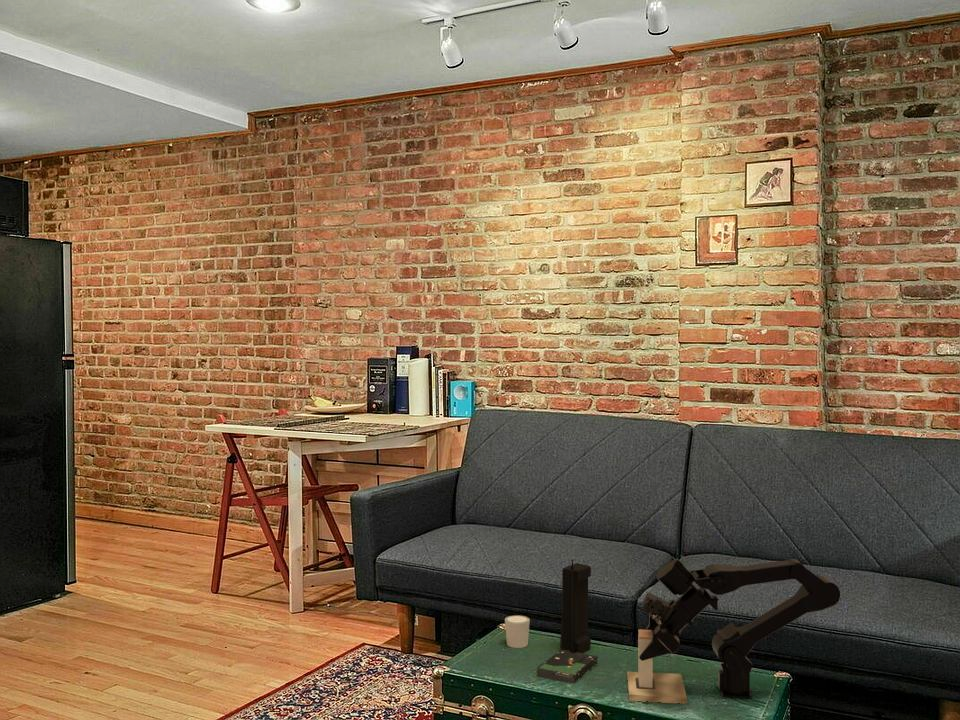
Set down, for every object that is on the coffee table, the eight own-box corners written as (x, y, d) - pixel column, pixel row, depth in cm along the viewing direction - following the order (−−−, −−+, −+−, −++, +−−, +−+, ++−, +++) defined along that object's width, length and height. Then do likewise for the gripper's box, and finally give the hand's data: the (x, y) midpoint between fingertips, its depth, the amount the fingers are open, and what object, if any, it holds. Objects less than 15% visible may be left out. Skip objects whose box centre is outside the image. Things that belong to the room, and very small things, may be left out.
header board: (680, 680, 217) (681, 661, 217) (686, 703, 203) (686, 684, 203) (627, 677, 219) (627, 659, 219) (629, 701, 205) (629, 681, 205)
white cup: (518, 638, 247) (518, 613, 247) (535, 644, 242) (535, 619, 242) (499, 643, 243) (499, 618, 243) (516, 650, 238) (516, 624, 237)
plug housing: (651, 679, 214) (651, 630, 213) (652, 687, 208) (652, 637, 208) (638, 678, 214) (638, 629, 214) (639, 687, 209) (639, 636, 209)
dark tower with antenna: (574, 642, 243) (574, 552, 242) (593, 647, 239) (593, 556, 239) (558, 650, 237) (558, 558, 236) (577, 656, 233) (577, 562, 233)
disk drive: (560, 659, 233) (536, 677, 220) (561, 648, 233) (536, 666, 220) (597, 666, 228) (574, 686, 215) (597, 655, 228) (574, 674, 215)
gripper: (659, 572, 219) (614, 615, 221) (665, 594, 201) (616, 641, 203) (691, 605, 218) (646, 647, 220) (700, 630, 200) (651, 676, 202)
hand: (639, 652), depth 211 cm, fingers open, 9 cm apart
